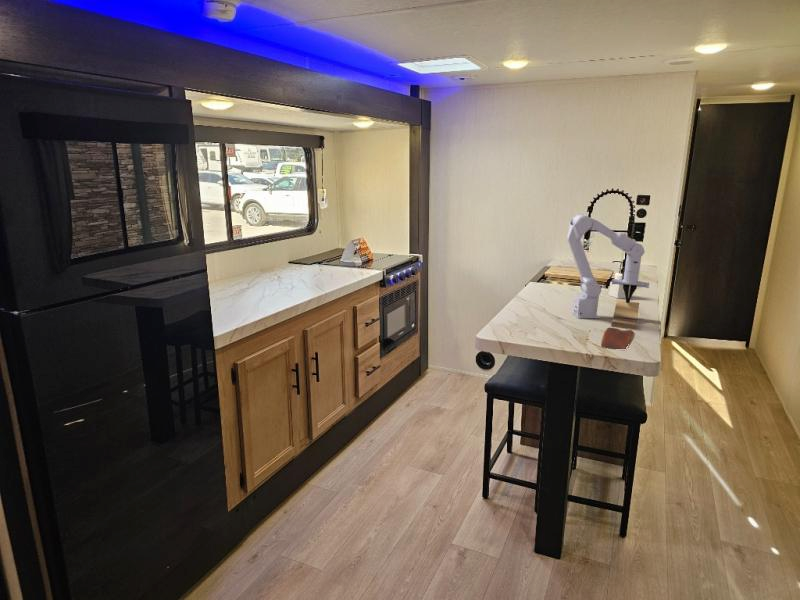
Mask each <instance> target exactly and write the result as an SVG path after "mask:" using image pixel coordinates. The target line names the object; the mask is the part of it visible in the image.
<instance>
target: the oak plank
mask: <svg viewBox="0 0 800 600" xmlns="http://www.w3.org/2000/svg"><path fill="white" fill-rule="evenodd" d="M639 309H640V302H637V301H636V302H635V301H630V303H626V300H619V299H616V303H615V307H614V311H613V316H622V317H629V318H637V319H638V315H639V314H638V313H639Z"/></svg>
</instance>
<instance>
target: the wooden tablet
mask: <svg viewBox="0 0 800 600" xmlns="http://www.w3.org/2000/svg"><path fill="white" fill-rule="evenodd" d="M633 336H634V331H633V329H628V330H627V329H626V330H622V329H619V328H618V327H607V328H606V329H605V331H604V333H603V336H602V339H601V343H600V347H601V348H603V349H607V348H608V350H609V349H610V350H616V349H626V347H627V346H628V344H629V343H630V342H631V340H632V338H633ZM629 345H630V344H629ZM626 350H627V349H626Z"/></svg>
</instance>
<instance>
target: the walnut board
mask: <svg viewBox="0 0 800 600" xmlns="http://www.w3.org/2000/svg"><path fill="white" fill-rule="evenodd" d="M637 321H638V317H637V318H629V317H622V316H614V315H613V318H612V320H611V325H610V326H611V327H612V328H622V329H628V328H630V329H629V330H636V329H637V328H636V327H637Z"/></svg>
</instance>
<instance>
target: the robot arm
mask: <svg viewBox="0 0 800 600" xmlns="http://www.w3.org/2000/svg"><path fill="white" fill-rule="evenodd" d="M588 231H597V232H598V233H600V234H601V235H604V236H605V237H607V238H609V240H610V241H611V244H612V245H613V246H615V247H616V248H618V249H619V250H621V251H623V252H624V253H625V254H626V259H625V265H624V272H623V273H624V279H623V280H620V279H615V278H612V280H611V282H612V284H618V285H623V289H624V292H625V296H626V298H625V301H626V303H630V302H631V298H632V297H633V295H634V293H635V291H636V290H637V287H638V288H646V289H649V288H650V282H646V281H640V280H639V277H640V269H641V262H642V256H644V254H645V248H644V246H643V244H640V243H639V242H636V241H637V240H636V239H634V238H633V239H632V238H631V237H629V236H627V233H625V232H621V231H619V232H615V231H614V230H612V229H611V228H609V227H608V226H606V225H604V223H602V222H600V221H599V220H597V219H594V218H591V217H590V216H588V215H584V214H582V213H577V214H575V215H574V216H573V217H572V219H571V220H570V221H569V227H568V232H567V237H566V240H567V243H568V246H569V249H570V251H571V254H572V256H573V259H574V262H575V264H576V268H577V271H578V274H579V275H580V277H579V280H580V290H581V291H582V292H581V293H580V295H576V296H575V297H574V300H573V308H572V309H573V310H572V311H571V312H572V313H571V314H572V315H574V316H575V317H576V318H578V319H601V316H600V315H598V306H599V297H600V294H601V293H602V287H601V284H599V283H598V282H597V281H596V277H595V276H594V274H593V271H592V269H591V265H590V263H589V261H588V260H589V259H588V257H587V255H586V252H585V249H584V246H583V244H582V238H583V237H584V235H585V234H586V233H587V232H588ZM629 287H630V292H629ZM628 294H629V298H628Z"/></svg>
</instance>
